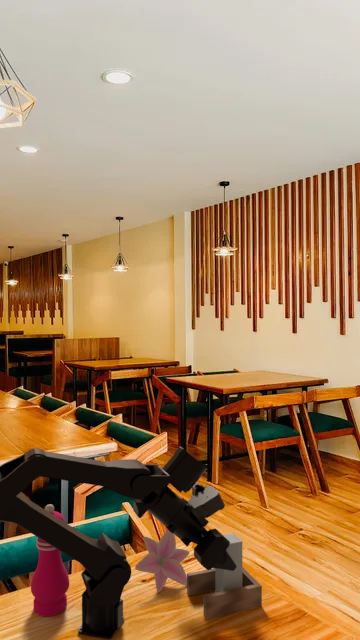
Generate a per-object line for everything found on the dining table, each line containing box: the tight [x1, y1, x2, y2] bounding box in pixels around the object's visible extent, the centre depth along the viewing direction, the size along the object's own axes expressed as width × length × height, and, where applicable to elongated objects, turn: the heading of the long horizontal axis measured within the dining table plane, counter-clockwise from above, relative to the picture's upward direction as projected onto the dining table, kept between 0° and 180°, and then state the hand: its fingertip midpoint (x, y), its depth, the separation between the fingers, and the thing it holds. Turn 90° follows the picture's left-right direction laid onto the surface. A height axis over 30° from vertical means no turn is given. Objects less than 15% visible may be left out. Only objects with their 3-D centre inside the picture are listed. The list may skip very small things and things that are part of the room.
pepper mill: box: [30, 503, 70, 617], centre depth 101 cm, size 7×7×20 cm
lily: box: [134, 528, 190, 593], centre depth 111 cm, size 12×12×10 cm
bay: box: [186, 566, 263, 620], centre depth 104 cm, size 12×10×4 cm
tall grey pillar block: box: [214, 532, 243, 593], centre depth 104 cm, size 4×4×12 cm
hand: (224, 557), depth 104 cm, fingers open, 9 cm apart
